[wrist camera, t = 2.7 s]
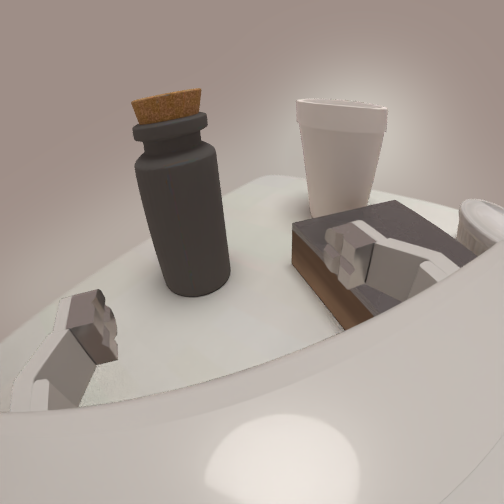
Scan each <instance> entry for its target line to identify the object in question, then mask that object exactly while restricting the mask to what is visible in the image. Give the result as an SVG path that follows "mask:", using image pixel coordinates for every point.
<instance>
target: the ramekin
mask: <svg viewBox="0 0 504 504" xmlns="http://www.w3.org/2000/svg"><path fill="white" fill-rule="evenodd" d="M456 240H457V241H458V242H460V243H461V244H462V245H464V246H465V247H466V248H468V249H469V250H470V251H472V252H473V253H474V254H475V255H477V256H479V255H481V254H482V253H484V252H485V251H487V250H488V249H489V248H491V247H492V246H493V245H495V244H496V243H498V242H499V241H504V208H503V207H501V206H498V205H496V204H494V203H491V202H488V201H484V200H479V199H467V200H465V201H463V202H462V204H461V206H460V209H459V224H458V231H457V237H456Z"/></svg>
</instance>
